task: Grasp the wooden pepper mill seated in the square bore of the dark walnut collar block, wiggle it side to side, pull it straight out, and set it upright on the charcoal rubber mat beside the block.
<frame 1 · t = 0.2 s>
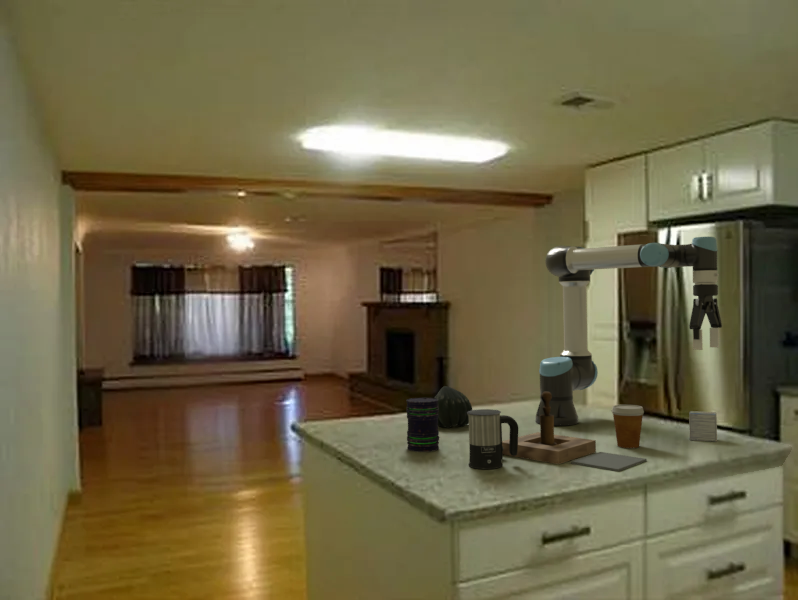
hand: (706, 348, 233), 28 cm above the counter, fingers open, 13 cm apart
storage jar: (423, 449, 216), on the counter
disposable coffee cup: (628, 446, 215), on the counter
milk frother: (486, 463, 196), on the counter
squash: (450, 426, 254), on the counter
medicine box: (703, 440, 223), on the counter
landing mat: (608, 462, 194), on the counter
wooden pepper mill: (547, 453, 207), resting in collar block
collar block: (547, 453, 207), on the counter
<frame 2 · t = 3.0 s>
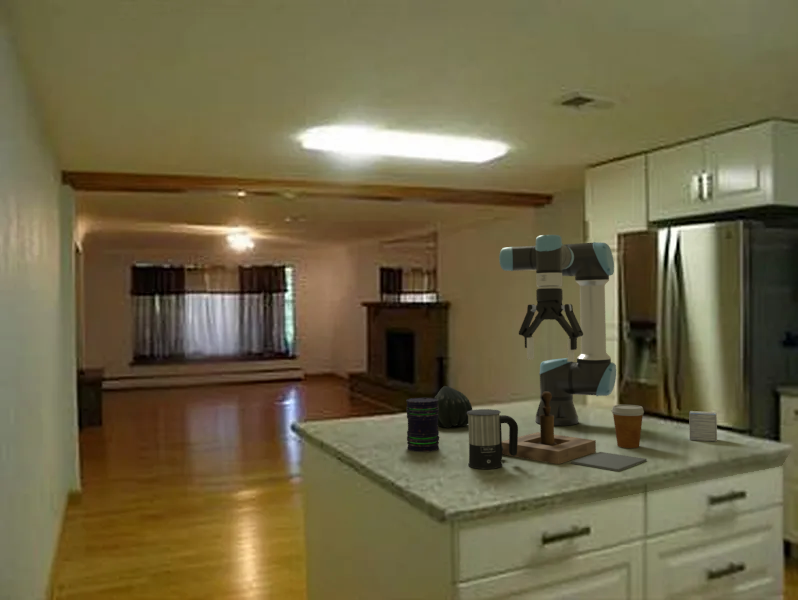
hand: (550, 360, 208), 27 cm above the counter, fingers open, 13 cm apart
nothing on the counter moved.
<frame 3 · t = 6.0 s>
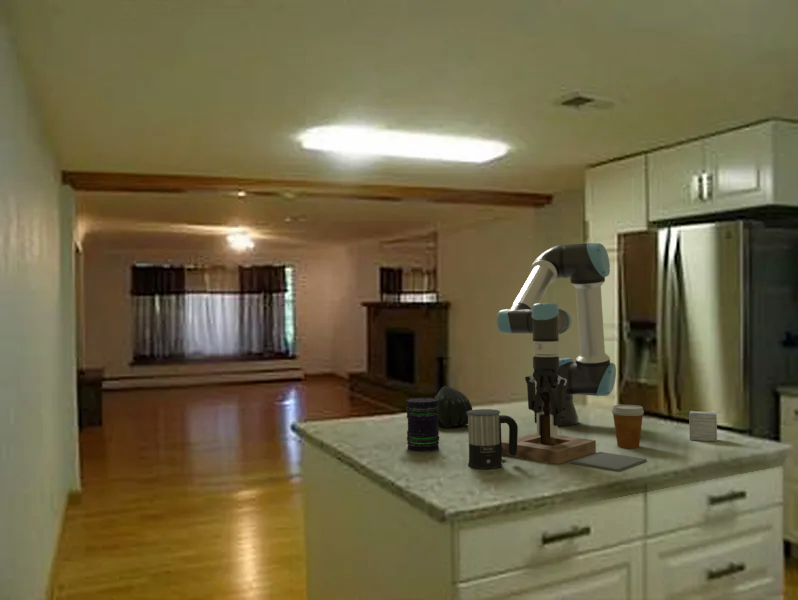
hand: (547, 435, 207), 5 cm above the counter, fingers closed on wooden pepper mill, 4 cm apart
wooden pepper mill: (547, 453, 207), resting in collar block, touching gripper
everything else where it was.
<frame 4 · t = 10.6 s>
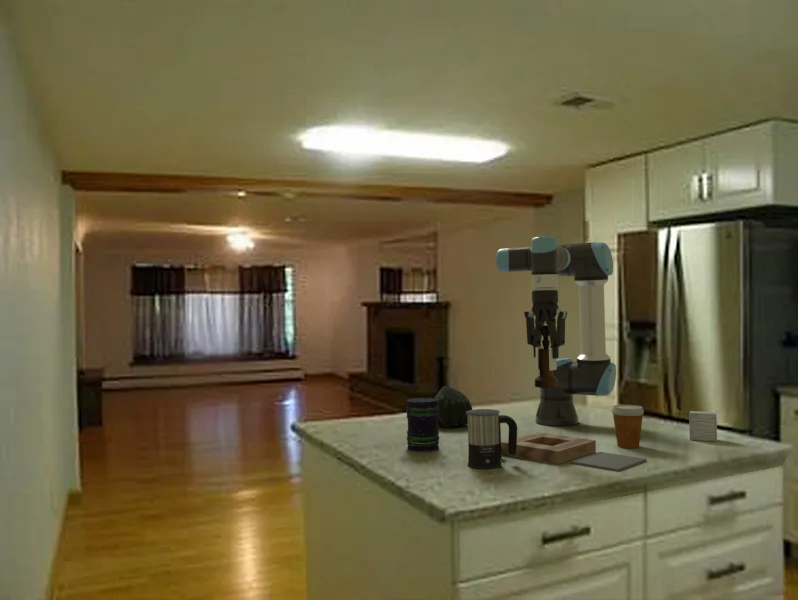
hand: (546, 369, 207), 24 cm above the counter, fingers closed on wooden pepper mill, 4 cm apart
wooden pepper mill: (546, 387, 207), point 19 cm above the counter, touching gripper
everything else where it was.
when the fingers open (7 cm above the counter, at t = 15.5 s): wooden pepper mill drops 1 cm, resting on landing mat.
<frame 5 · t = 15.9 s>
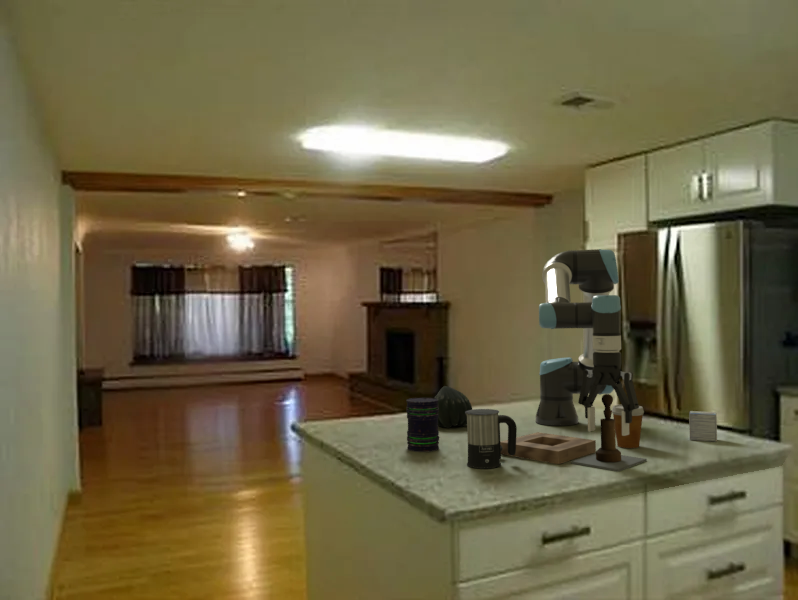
hand: (608, 432, 194), 8 cm above the counter, fingers open, 9 cm apart
wooden pepper mill: (608, 460, 194), resting on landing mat
everything else where it was.
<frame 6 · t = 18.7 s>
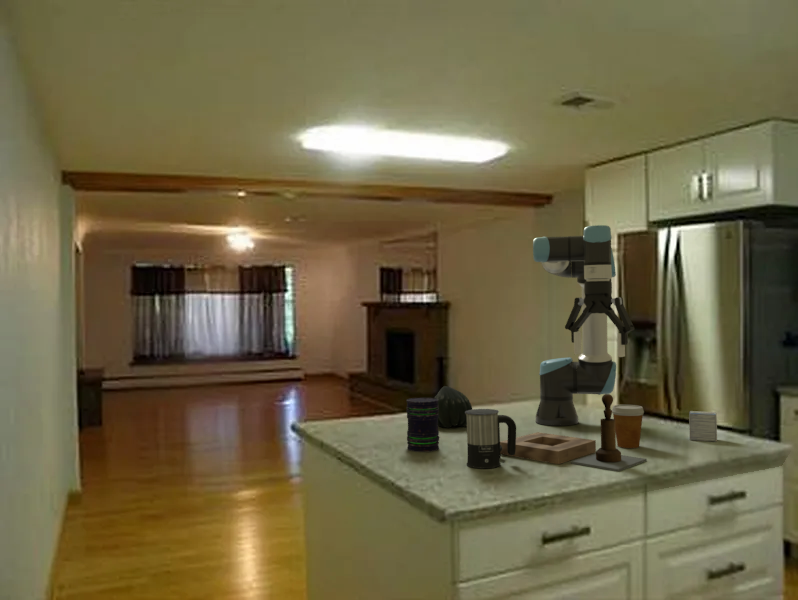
hand: (599, 355, 200), 29 cm above the counter, fingers open, 13 cm apart
nothing on the counter moved.
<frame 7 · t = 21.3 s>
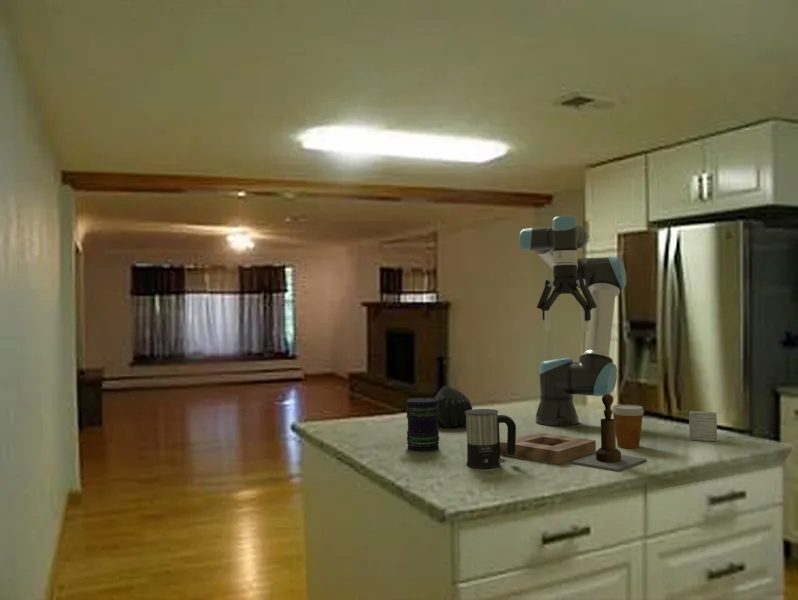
hand: (566, 331, 226), 35 cm above the counter, fingers open, 13 cm apart
at the end: wooden pepper mill inside the target area on the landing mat (0.1 cm from its centre), point 0.4 cm above the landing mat's base; wooden pepper mill tilted 0°; the gripper is holding nothing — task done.
